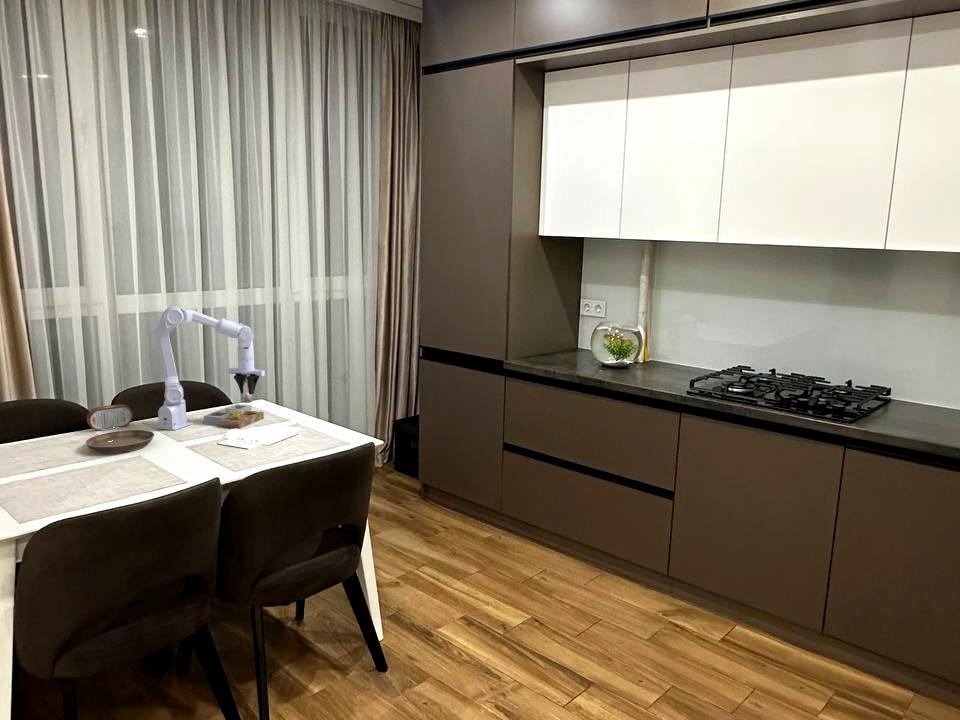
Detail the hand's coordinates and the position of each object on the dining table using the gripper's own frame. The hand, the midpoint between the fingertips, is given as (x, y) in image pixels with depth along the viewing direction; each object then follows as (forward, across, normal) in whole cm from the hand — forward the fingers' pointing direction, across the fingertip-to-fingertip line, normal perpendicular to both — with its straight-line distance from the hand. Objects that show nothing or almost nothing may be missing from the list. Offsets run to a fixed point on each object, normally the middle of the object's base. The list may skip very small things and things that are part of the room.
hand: (247, 393), depth 276 cm
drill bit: (+3, 0, 0) cm, 3 cm away
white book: (+11, -17, +18) cm, 27 cm away
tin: (+11, +40, +26) cm, 49 cm away
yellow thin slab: (+10, 0, +8) cm, 13 cm away
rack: (+10, +9, 0) cm, 14 cm away
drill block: (+10, 0, +4) cm, 11 cm away
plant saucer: (+11, +20, +43) cm, 49 cm away
